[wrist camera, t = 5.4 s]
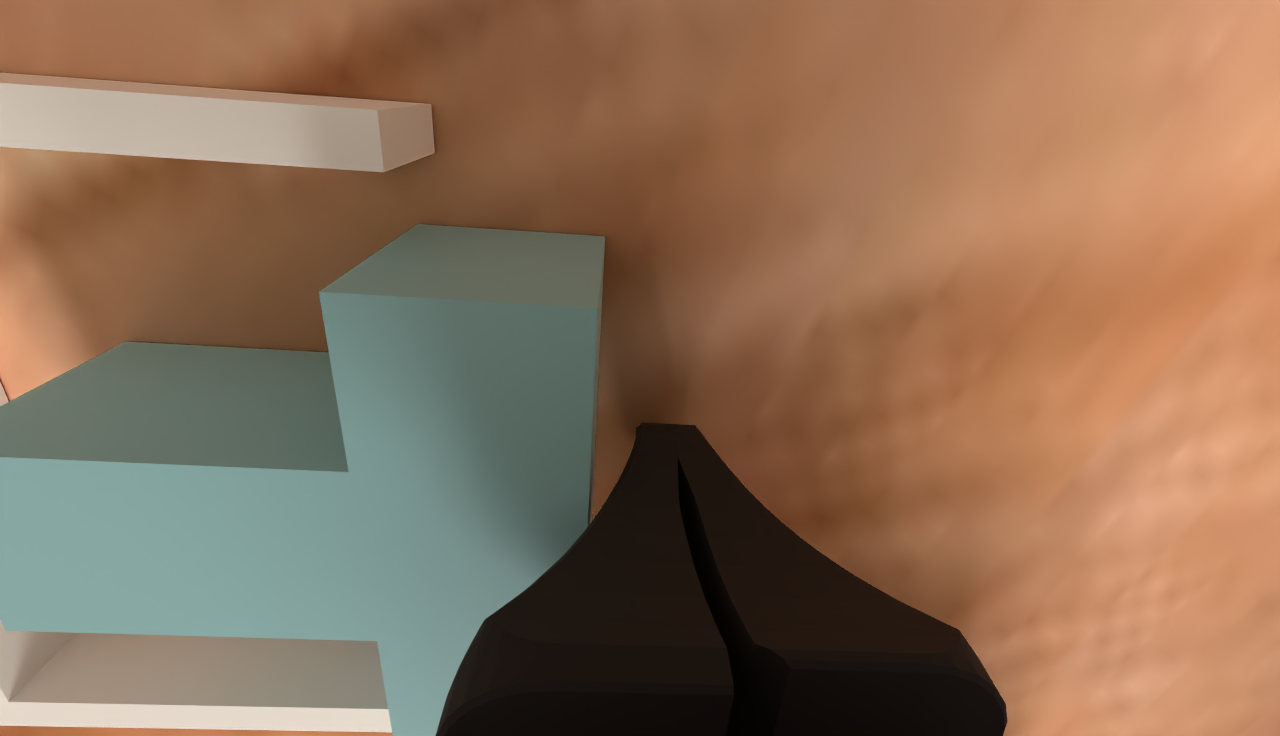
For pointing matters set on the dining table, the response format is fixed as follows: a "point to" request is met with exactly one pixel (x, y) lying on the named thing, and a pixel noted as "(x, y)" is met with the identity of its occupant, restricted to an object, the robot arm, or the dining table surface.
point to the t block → (324, 465)
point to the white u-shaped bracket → (8, 660)
